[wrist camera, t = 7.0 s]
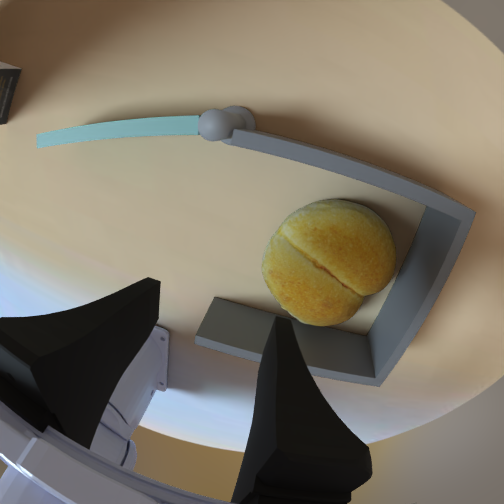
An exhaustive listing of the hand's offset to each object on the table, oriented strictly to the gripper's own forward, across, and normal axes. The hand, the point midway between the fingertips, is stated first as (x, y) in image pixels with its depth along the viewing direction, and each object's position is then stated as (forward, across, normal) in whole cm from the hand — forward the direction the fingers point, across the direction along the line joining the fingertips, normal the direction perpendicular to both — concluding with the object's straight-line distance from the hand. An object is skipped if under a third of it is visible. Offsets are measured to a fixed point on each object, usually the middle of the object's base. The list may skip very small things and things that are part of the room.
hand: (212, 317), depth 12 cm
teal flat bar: (+9, +9, -6) cm, 14 cm away
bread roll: (+10, -6, 0) cm, 11 cm away
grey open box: (+9, -4, -1) cm, 10 cm away
